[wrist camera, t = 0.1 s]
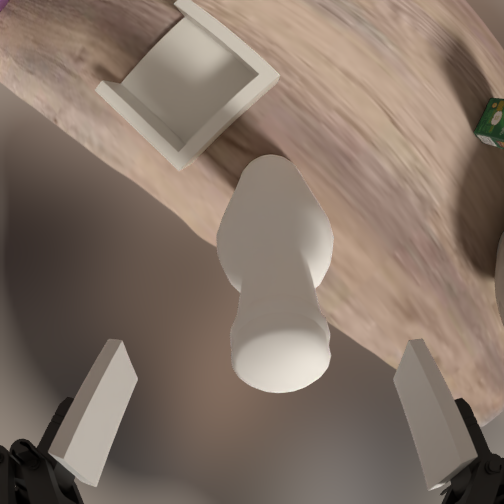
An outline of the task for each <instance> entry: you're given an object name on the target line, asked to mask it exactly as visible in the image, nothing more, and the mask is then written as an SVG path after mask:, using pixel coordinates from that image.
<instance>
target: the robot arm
mask: <svg viewBox="0 0 504 504" xmlns="http://www.w3.org/2000/svg"><path fill="white" fill-rule="evenodd" d="M137 380H138V378H137V376H136V374H135V371H134V369H133V367H132V364H131V362H130V359H129V357H128V354H127V352H126V349H125V346H124V344H123V341H122V340H114V339H108V341H107V343H106V344H105V346H104V348H103V349H102V351H101V353H100V354H99V356H98V358H97V359H96V361H95V363H94V365H93V366H92V368H91V370H90V372H89V373H88V375H87V377H86V379H85V380H84V382H83V384H82V386H81V388H80V390H79V391H78V393H77V395H76V397H75V399H73V398H70V397H67V398H66V399H65V400H64V401H63V402H62V403H60V405H59V406H58V409H57V410H56V412H55V415H54V416H53V418H52V420H51V422H50V423H49V425H48V427H47V429H46V431H45V433H44V435H43V437H42V439H41V441H40V443H39V445H38V446H37V448H36V447H35V446H33V444H32V443H31V442H30V441H29V440H26V439H19V440H17V441H15V442H14V443H13V444H12V445H11V448H10V452H9V451H8V450H7V449H6V448H4V447H3V446H1V445H0V504H84V503H83V500H82V498H81V496H80V493H79V490H78V488H77V485H76V484H75V482H74V479H75V477H77V478H78V479H79V480H80V481H82V482H84V483H87V484H89V485H92V486H95V487H97V484H98V481H99V478H100V476H101V473H102V470H103V467H104V464H105V462H106V459H107V456H108V453H109V450H110V448H111V445H112V442H113V440H114V437H115V435H116V432H117V429H118V427H119V424H120V421H121V419H122V417H123V414H124V412H125V409H126V407H127V404H128V402H129V399H130V397H131V394H132V392H133V389H134V387H135V385H136V382H137ZM393 381H394V383H395V386H396V389H397V392H398V394H399V397H400V400H401V403H402V406H403V408H404V412H405V414H406V417H407V420H408V423H409V427H410V430H411V433H412V436H413V439H414V442H415V446H416V449H417V452H418V456H419V459H420V463H421V466H422V470H423V473H424V477H425V481H426V485H427V489H428V491H429V490H432V489H435V488H438V487H440V486H443V485H444V484H446V483H447V482H448V481H451V485H450V486H449V487H447V488H446V489H445V490H443V491H442V493H441V494H440V495H443V494H445V493H446V492H447V493H446V495H445V498H444V499H443V502H442V504H504V458H501V457H500V456H498V455H497V454H492V453H491V452H490V450H489V448H488V446H487V443H486V441H485V438H484V436H483V434H482V431H481V429H480V427H479V425H478V424H477V420H476V418H475V417H474V414H473V412H472V409H471V407H470V405H469V404H468V403H467V402H466V401H465V400H464V399H463V398H459V399H456V400H454V399H453V397H452V394H451V392H450V390H449V388H448V386H447V384H446V382H445V380H444V378H443V376H442V374H441V372H440V370H439V368H438V366H437V365H436V363H435V361H434V359H433V357H432V355H431V353H430V351H429V350H428V348H427V346H426V344H425V342H424V340H423V339H415V340H409V341H408V344H407V346H406V349H405V352H404V354H403V357H402V359H401V362H400V364H399V367H398V369H397V371H396V374H395V376H394V379H393ZM15 486H16V487H15Z"/></svg>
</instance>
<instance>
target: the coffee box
mask: <svg viewBox="0 0 504 504" xmlns="http://www.w3.org/2000/svg"><path fill="white" fill-rule="evenodd" d="M474 134H475V135H476V136H477V137H478V138H479V139H480V141H481V142H482V143H485V144H488V145H492V146H495V147H499V148H502V149H504V99H499V98H490V101H489V103H488V104H487V106H486V109H485V112H484V113H483V116H482V118H481V120H480V122H479V123H478V125H477V128H476V129H475V131H474Z"/></svg>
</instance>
